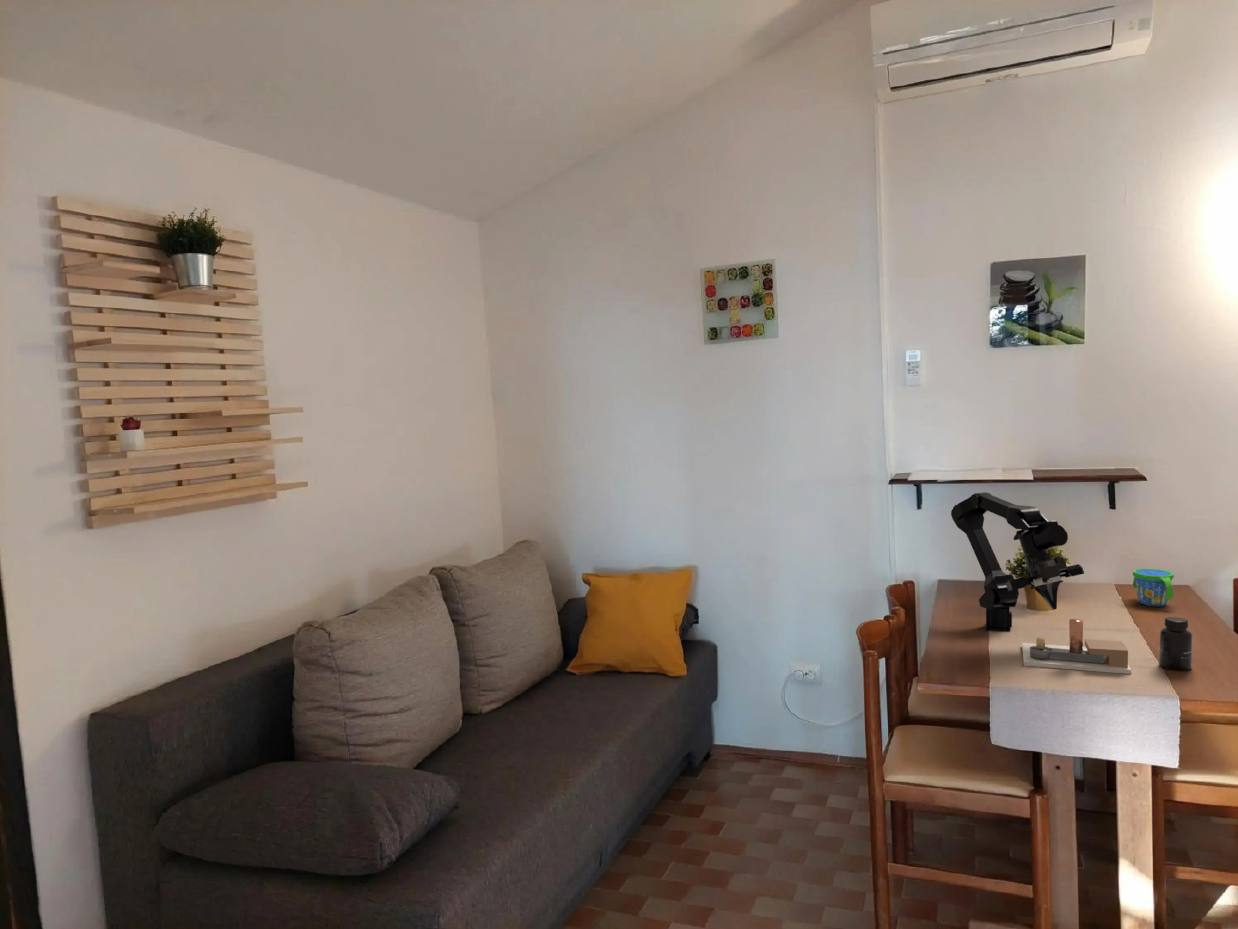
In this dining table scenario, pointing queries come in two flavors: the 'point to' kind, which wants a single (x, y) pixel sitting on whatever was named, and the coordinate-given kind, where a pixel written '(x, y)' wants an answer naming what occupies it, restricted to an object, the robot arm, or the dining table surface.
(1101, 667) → the base
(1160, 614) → the dining table surface
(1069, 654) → the link
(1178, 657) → the supplement bottle
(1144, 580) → the snack cup
